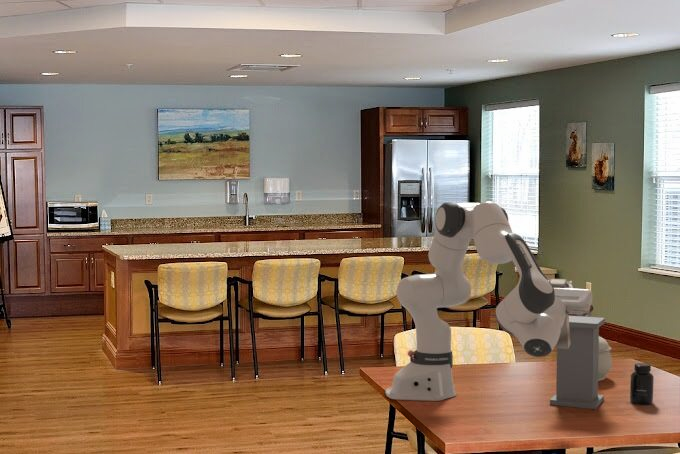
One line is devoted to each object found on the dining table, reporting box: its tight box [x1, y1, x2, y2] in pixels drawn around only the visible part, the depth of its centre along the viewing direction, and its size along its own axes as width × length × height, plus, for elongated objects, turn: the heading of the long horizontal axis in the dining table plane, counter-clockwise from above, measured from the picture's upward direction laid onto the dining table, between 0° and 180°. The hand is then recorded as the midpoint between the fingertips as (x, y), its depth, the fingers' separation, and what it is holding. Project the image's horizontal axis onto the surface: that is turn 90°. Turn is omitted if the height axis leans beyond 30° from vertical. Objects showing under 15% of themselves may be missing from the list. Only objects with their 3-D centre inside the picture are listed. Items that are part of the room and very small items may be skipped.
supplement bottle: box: [629, 362, 655, 406], centre depth 306 cm, size 7×7×12 cm
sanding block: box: [550, 278, 571, 349], centre depth 281 cm, size 21×4×3 cm
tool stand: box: [549, 315, 606, 410], centre depth 305 cm, size 13×14×26 cm
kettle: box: [578, 304, 613, 382], centre depth 343 cm, size 25×18×25 cm
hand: (559, 282), depth 279 cm, fingers closed on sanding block, 4 cm apart
